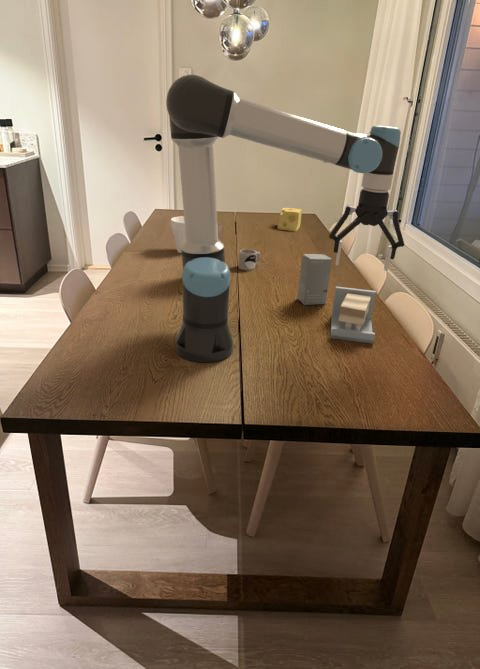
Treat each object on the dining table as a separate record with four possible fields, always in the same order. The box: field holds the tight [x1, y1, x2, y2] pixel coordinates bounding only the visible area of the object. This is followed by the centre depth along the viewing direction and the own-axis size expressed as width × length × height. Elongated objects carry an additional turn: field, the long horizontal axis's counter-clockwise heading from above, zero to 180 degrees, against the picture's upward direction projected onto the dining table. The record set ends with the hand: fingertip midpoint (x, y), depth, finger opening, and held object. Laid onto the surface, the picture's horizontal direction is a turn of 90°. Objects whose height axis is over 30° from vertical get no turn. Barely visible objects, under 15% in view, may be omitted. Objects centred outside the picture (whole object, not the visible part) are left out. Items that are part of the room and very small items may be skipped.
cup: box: [170, 215, 186, 254], centre depth 206 cm, size 12×12×14 cm
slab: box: [338, 293, 371, 325], centre depth 144 cm, size 12×7×4 cm, turn 159°
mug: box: [238, 248, 261, 271], centre depth 193 cm, size 10×7×7 cm
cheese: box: [277, 207, 303, 233], centre depth 254 cm, size 10×11×10 cm
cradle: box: [330, 285, 377, 345], centre depth 144 cm, size 16×12×10 cm
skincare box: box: [296, 253, 333, 306], centre depth 162 cm, size 8×7×16 cm
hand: (361, 266), depth 138 cm, fingers open, 13 cm apart
